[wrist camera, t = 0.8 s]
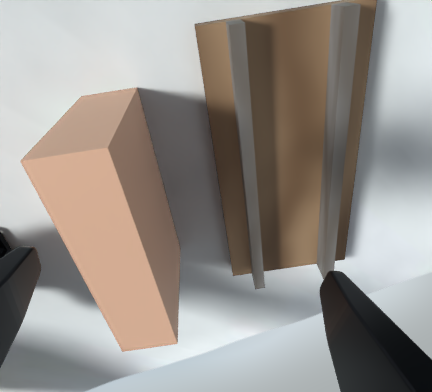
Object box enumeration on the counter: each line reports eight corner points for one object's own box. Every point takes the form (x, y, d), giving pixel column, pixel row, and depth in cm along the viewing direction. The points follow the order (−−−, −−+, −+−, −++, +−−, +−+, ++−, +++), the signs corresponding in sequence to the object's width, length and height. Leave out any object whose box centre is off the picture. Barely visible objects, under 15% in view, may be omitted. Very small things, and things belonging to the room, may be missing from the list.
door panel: (140, 254, 28) (122, 351, 21) (81, 95, 20) (20, 161, 13) (180, 248, 28) (177, 343, 21) (137, 87, 20) (107, 147, 13)
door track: (231, 265, 30) (235, 292, 27) (194, 24, 19) (195, 30, 16) (339, 250, 30) (353, 274, 27) (367, -4, 18) (394, -2, 16)
